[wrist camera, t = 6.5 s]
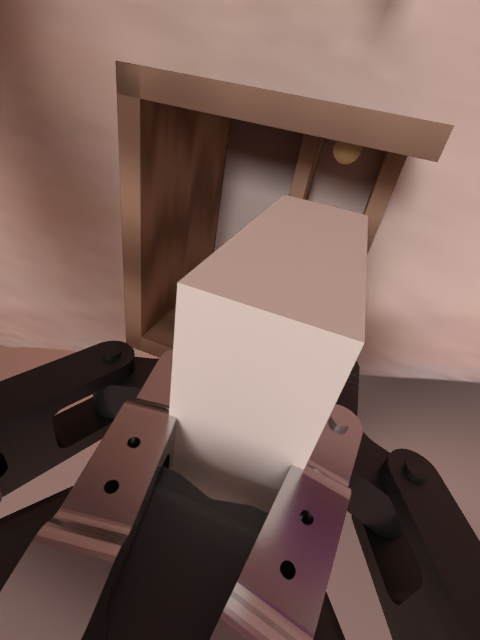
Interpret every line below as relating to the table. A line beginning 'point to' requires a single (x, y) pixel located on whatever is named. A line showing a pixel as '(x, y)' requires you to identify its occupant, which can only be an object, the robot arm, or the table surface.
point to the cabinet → (208, 169)
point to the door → (266, 347)
